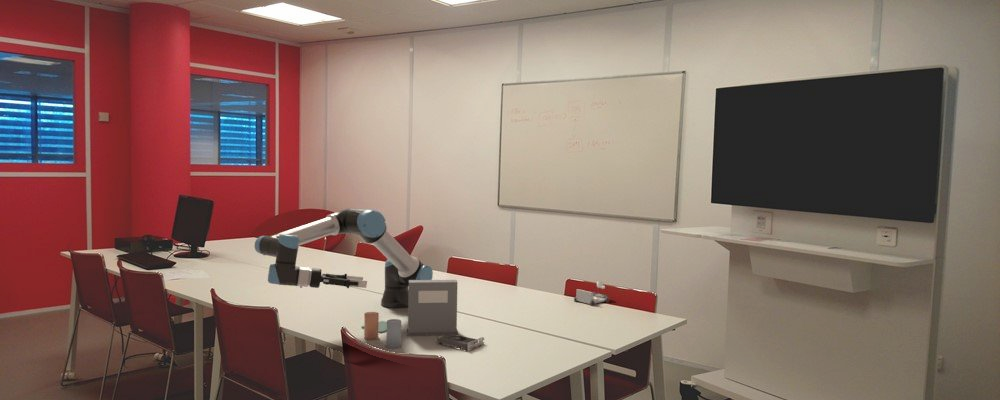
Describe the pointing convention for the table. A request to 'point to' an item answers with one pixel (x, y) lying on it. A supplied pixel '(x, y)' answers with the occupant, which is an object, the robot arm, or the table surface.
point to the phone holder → (591, 296)
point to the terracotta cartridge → (371, 325)
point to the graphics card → (460, 341)
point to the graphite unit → (432, 307)
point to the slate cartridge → (393, 333)
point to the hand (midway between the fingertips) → (364, 282)
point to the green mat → (382, 327)
